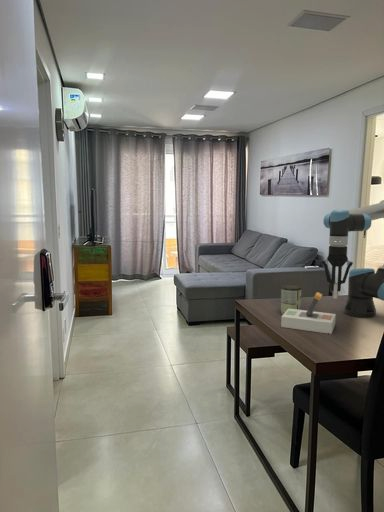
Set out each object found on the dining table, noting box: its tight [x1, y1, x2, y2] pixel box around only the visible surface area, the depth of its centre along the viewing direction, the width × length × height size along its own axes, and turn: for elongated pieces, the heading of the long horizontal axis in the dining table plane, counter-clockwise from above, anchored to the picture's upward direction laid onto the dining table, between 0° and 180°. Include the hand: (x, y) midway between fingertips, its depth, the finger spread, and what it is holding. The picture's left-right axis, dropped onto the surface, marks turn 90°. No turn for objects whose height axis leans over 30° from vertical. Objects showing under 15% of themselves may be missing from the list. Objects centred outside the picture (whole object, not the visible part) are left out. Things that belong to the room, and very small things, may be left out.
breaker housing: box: [280, 309, 337, 335], centre depth 177 cm, size 22×14×5 cm, turn 63°
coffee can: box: [280, 283, 303, 315], centre depth 197 cm, size 10×10×14 cm
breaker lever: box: [306, 291, 323, 316], centre depth 175 cm, size 3×6×11 cm, turn 153°
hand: (335, 298), depth 170 cm, fingers closed
